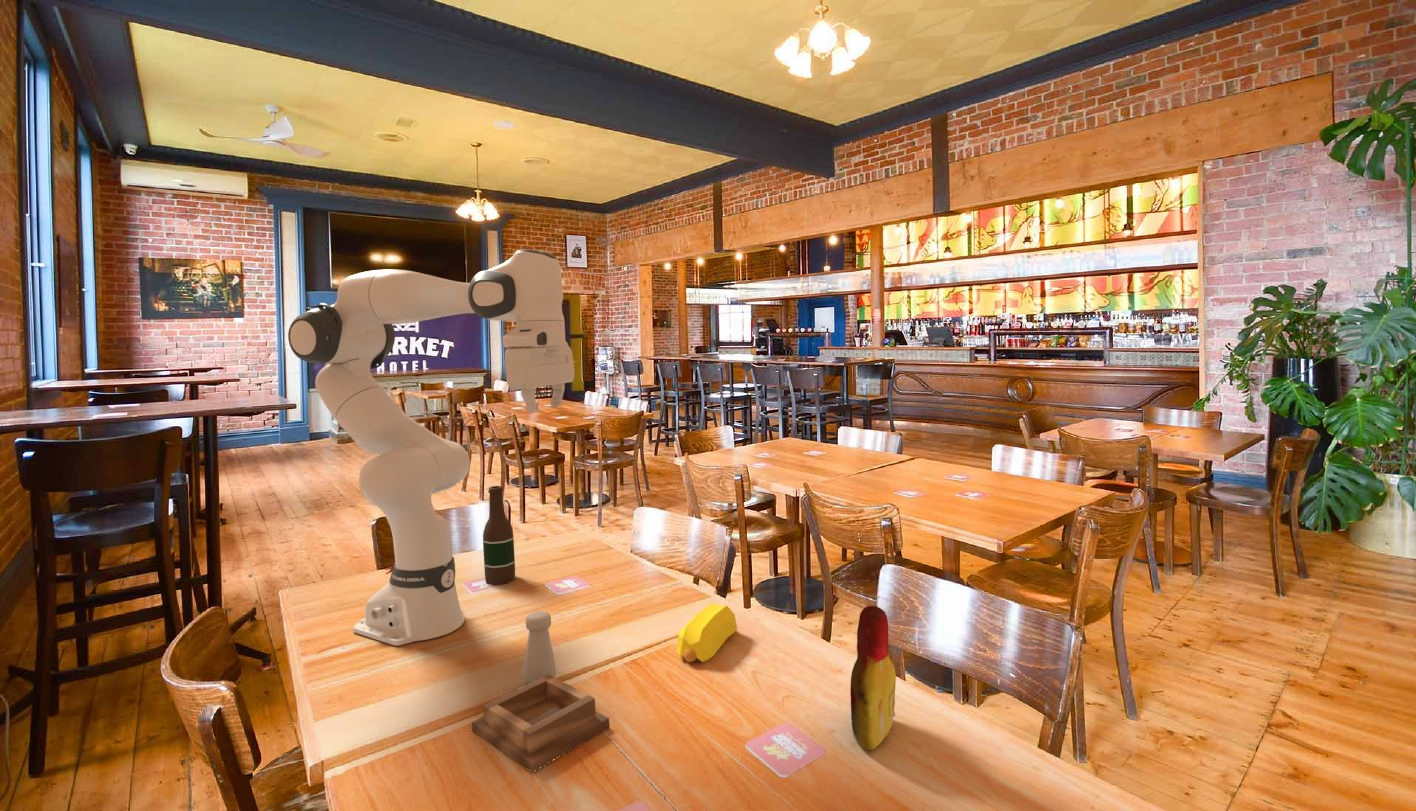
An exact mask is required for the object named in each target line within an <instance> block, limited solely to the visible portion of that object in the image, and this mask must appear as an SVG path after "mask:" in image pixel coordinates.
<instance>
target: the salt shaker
mask: <svg viewBox="0 0 1416 811" xmlns="http://www.w3.org/2000/svg"><path fill="white" fill-rule="evenodd" d="M551 624H552V616H551V614H550V613H549V612H547V611H544V610H543V611H541V610H540V611H539V610H538V611H537V610H536V611H533V612H530V613H529V614H528V615H527V616H526V617H525V628H526V629H527V630H528V636H527V642H526V649H525V654H524V662H523V667H522V680H523V681H524V683H525V685H527V684H529V683H531V682H533V681H535V680H537V679H540V678H542V677H544V676H546V675H550V676H552V677H554V678H556V677H557V666H556V662H555V657H554V651H553V646H552V642H551V636H550V632H549V628H550V627H551Z"/></svg>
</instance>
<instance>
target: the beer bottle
mask: <svg viewBox="0 0 1416 811" xmlns="http://www.w3.org/2000/svg"><path fill="white" fill-rule="evenodd" d="M487 492H488V493H489V500H488V501H489V506H488V507H489V508H488V509H489V510H488V511H489V513H488V514H489V515H488V520H487V521H486V523H485V524H484V529H483V531H482V532H483V534H482V547H483V548H482V550H483V563H484V564H483V565H484V579H485V583H486V584H489V585H493V586H497V585H506V584H509V583H511V582H513V581H514V582H515V579H516V560H515V540H514V529H513V526H512V524H511V522H510V520H509V519H508V518H507V517H506V516H507V515H506V512H505V505H504V495H503V492H504V488H503V486H502V485H501V486H500V485H492V486H490V487H489V488H488V491H487Z"/></svg>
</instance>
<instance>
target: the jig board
mask: <svg viewBox="0 0 1416 811" xmlns="http://www.w3.org/2000/svg"><path fill="white" fill-rule="evenodd" d="M609 728H610V718H609V717H608V716H606V715H604V714H602V713H600V712H598V711H596V698H595V697H593V696H591V695H589V694H588V693H585V692H583V691H581V690H579V689H577V688H576V687H574V686H572V685H570V684H568V683H566V682H564V681H562V680H560V679H558V678H556V677H555V678H554V677H552V676H550V675H546V676H544V677H542V678H540V679H537V680H535V681H533V682H531V683H529V684H525V685H523V686H521V687H519V688H517V689H515V690H512V691H510V692H508V693H506V694H504V695H502V696H500V697H498V698H496V699H494V700H492V701H489V702H487V703H486V704H484V705H483V716H482V717H480V718H479V717H478V718H477V719H475V720H473V721H471V731H472V733H474V734H475V735H477V736H478V737H480V738H481V739H483V740H484V741H486V742H487V743H489V744H490V745H492V747H494V748H496V749H498V751H500V752H502V753H503V754H505V755H506V756H507V757H509V758H511V760H513V759H514V760H513V761H515V762H516V761H517V762H516V763H518V762H519V763H520V764H519V763H518V764H519V765H520V766H522V765H523V767H524V768H525V767H526V768H528V769H529V770H531V771H532V772H534V771H535V770H538V769H539V768H540V767H543V766H544V765H546V764H548V762H551V761H552V760H553V759H556V758H557V757H559V756H561V755H562V754H564V753H566V754H567V752H568V751H569V752H571V751H573V750H574V749H576V748H577V747H579V746H581V745H582V744H584V743H586V742H587V741H589V740H591V739H593V738H594V737H596V736H597V735H599V734H600V733H602V732H604V731H605V730H607V729H609ZM578 745H579V746H578ZM572 749H573V750H572ZM570 750H571V751H570ZM569 752H568V753H569ZM564 755H565V754H564ZM561 757H562V756H561ZM559 758H560V757H559ZM556 760H557V759H556ZM551 763H552V762H551ZM548 765H549V764H548ZM546 766H547V765H546ZM544 767H545V766H544ZM544 767H543V768H544ZM526 768H525V769H526ZM528 769H527V770H528ZM529 770H528V771H529ZM539 770H540V769H539ZM539 770H538V771H539ZM531 771H530V772H531ZM532 772H531V773H532ZM534 773H535V772H534Z"/></svg>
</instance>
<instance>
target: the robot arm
mask: <svg viewBox="0 0 1416 811" xmlns="http://www.w3.org/2000/svg"><path fill="white" fill-rule="evenodd" d="M562 278H563V277H562V270H561V266H560V263H559V260H558V258H557V257H556V256H555V255H554V254H552V253H550V252H545V251H541V250H535V249H528V248H523V249H521V248H520V249H518V250H516V251H515V252H514V253H513V255H512V256H511V257H510V258H509V259H507V260H506V261H504V262H502V263H500V264H499V265H496V266H494V267H492V268H489V269H486V270H481V271H479V272H477V273H476V274H475V275H474V276H473V277H472V279H471V280H470V282H463V281H462V282H461V281H456V280H452V279H451V280H450V279H447V278H442V277H438V276H435V275H431V274H427V273H426V274H425V273H421V272H417V271H412V270H407V269H398V268H397V269H395V268H390V269H389V268H388V269H386V268H384V269H375V270H368V271H363V272H358V273H355V274H352V275H349V276H347V277H345V278H344V279H343V280H342V281H341V282H340V283H339V286H338V289H337V293H336V294H337V297H336V298H337V299H336V301H335V302H334V304H331V305H330V304H327V303H324V302H321V303H319V304H317V305H316V306H314V307H313V308H312V309H309V310H308V311H305V312H303V313H301V314H299V315H298V316H297V317H295V319H293V321H292V322H291V324H290V326H289V329H288V332H287V336H288V343H289V347H290V349H291V351H292V352H293V354H294V355H295V357H297V358H298V359H300V360H301V361H305V362H307V363H311V364H317V365H323V364H324V367H322V368H321V369H320V370H319V371H318V373H317V375H316V377H315V379H314V380H315V381H314V385H315V389H316V392H317V393H318V395H319V398H321V400H322V402H323V404H324V406H325V407H326V408H327V410H328V411H329V413H330V414H331V415H332V417H333V418H334V420H336V421H337V422H338V424H339V425H340V426H341V427H342V429H343V430H344V431H345V433H347V434H348V435H349V436H348V437H350V438H351V439H352V441H354V442H355V444H356V445H357V447H359V448H361V449H362V450H364V451H366V452H369V453H372V454H376V455H377V456H375V457H373V458H371V459H370V460H368V461H367V462H366V463H365V464H363V466H362V467H361V468H360V472H359V477H358V485H359V489H360V491H361V492H360V493H361V494H362V495H363V497H364V499H365V500H367V501H368V502H369V503H370V504H372V505H373V506H375V507H377V508H378V509H379V510H380V511H381V512H382V513H383V515H384V516H385V518H386V520H387V522H388V525H389V527H390V531H391V534H392V542H393V553H394V560H395V561H394V564H393V565H391V566H390V567H387V568H385V569H384V571H386V572H385V573H384V574H385V575H388V574H390V573H391V574H390V576H389V577H390V578H389V581H388V582H387V583H386V584H385V585H384V586H383V587H381V588H380V589H379V590H378V591H376V592H375V593H374V594H373V595H372V596H371V597H370V598H369V599H368V601H366V602H367V603H366V604H365V612H364V613H365V614H364V616H365V617H364V618H362V619H360V620H359V621H358V622H357V623H355V625H354V626H353V629H352V631H353V633H355V634H358V635H361V636H364V637H368V638H370V639H372V640H373V639H374V640H376V641H379V642H383V643H385V644H388V645H392V646H395V647H396V646H402V645H407V644H411V643H413V642H418V641H425V640H430V639H431V640H433V639H434V638H435V639H436V638H439V637H441V636H445V635H448V634H450V633H452V632H454V631H456V630H457V629H459V628H461V626H462V625H463V624H464V623H465V617H464V614H463V613H462V612H463V611H462V609H461V605H460V601H459V597H458V592H457V587H456V582H455V579H456V562H455V557H454V556H453V549H452V534H451V525H450V522H449V520H448V519H446V518H445V517H443V516H441V515H440V514H437V512H436V510H435V508H434V505H433V502H432V495H435V494H439V493H441V492H444V491H447V490H450V489H451V488H453V487H454V486H456V485H458V484H459V483H460V482H462V481H463V480H464V479H465V478H466V477H467V476H468V474H469V471H470V466H471V463H470V462H471V461H470V457H469V454H468V452H467V450H466V448H464V447H463V445H461V444H460V443H458V442H455V441H452V440H448V439H446V438H443V437H441V436H439V435H437V433H436V434H435V433H434V432H433V431H430V429H428V428H426V427H424V426H423V425H421V424H420V423H418V422H417V421H416V420H414V419H413V418H412V417H410V416H409V414H407V413H406V412H405V411H404V410H403V409H402V408H401V407H400V406H399V405H398V404H397V403H396V402H395V400H393V398H392V397H391V396H390V395H389V394H388V393H387V391H386V390H385V389H384V388H383V387H382V385H380V384H379V383H378V381H377V380H376V379H375V378H374V377H373V375H372V373H371V370H375V369H378V368H380V367H381V366H382V365H383V363H384V359H386V358H387V357H388V355H389V354H390V353H391V351H392V350H393V348H394V345H395V340H396V332H395V328H394V326H393V325H402V324H403V325H404V324H411V323H418V322H423V321H428V320H434V319H438V318H439V319H440V318H445V317H449V316H457V315H462V314H463V315H464V314H476V315H477V316H478V317H479V318H481V319H485V320H490V321H496V322H497V321H498V322H499V321H501V322H516V325H515V326H516V327H514V328H513V329H512V330H511V331H509V332H507V333H506V334H505V335H503V336H502V345H503V347H504V348H505V349H506V350H505V354H504V367H505V369H504V370H505V377H506V378H505V379H506V382H507V386H508V387H509V388H510V389H511V390H520V393H521V396H522V399H523V402H524V403H525V409H526V410H525V411H526V413H527V414H535V413H538V412H539V402H537V401H536V396H535V395H536V388H542V387H548V386H549V387H550V386H551V390H552V397H551V398H550V407H551V408H561V407H562V406H563V397H564V392H565V390H566V389H565V388H566V386H565V384H566V383H567V384H568V383H572V382H574V380H575V367H574V356H573V351H572V348H571V347H570V346H569V344H568V342H567V341H566V328H565V326H566V325H565V317H564V313H563V307H562V306H563V300H564V286H563V279H562Z"/></svg>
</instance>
